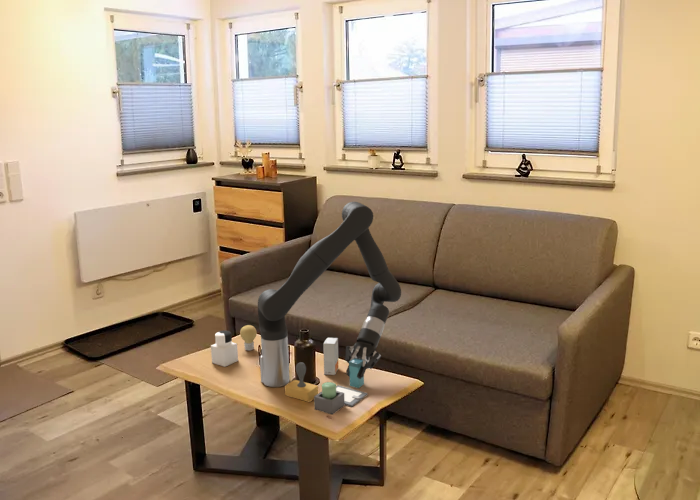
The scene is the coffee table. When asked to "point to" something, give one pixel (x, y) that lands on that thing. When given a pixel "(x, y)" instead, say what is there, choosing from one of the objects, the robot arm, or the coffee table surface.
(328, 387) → the button
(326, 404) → the button housing
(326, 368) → the skincare box
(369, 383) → the coffee table surface
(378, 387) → the coffee table surface
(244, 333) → the light bulb
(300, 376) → the rubber stamp
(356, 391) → the clipboard
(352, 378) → the teal lidded box
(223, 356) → the medicine bottle
